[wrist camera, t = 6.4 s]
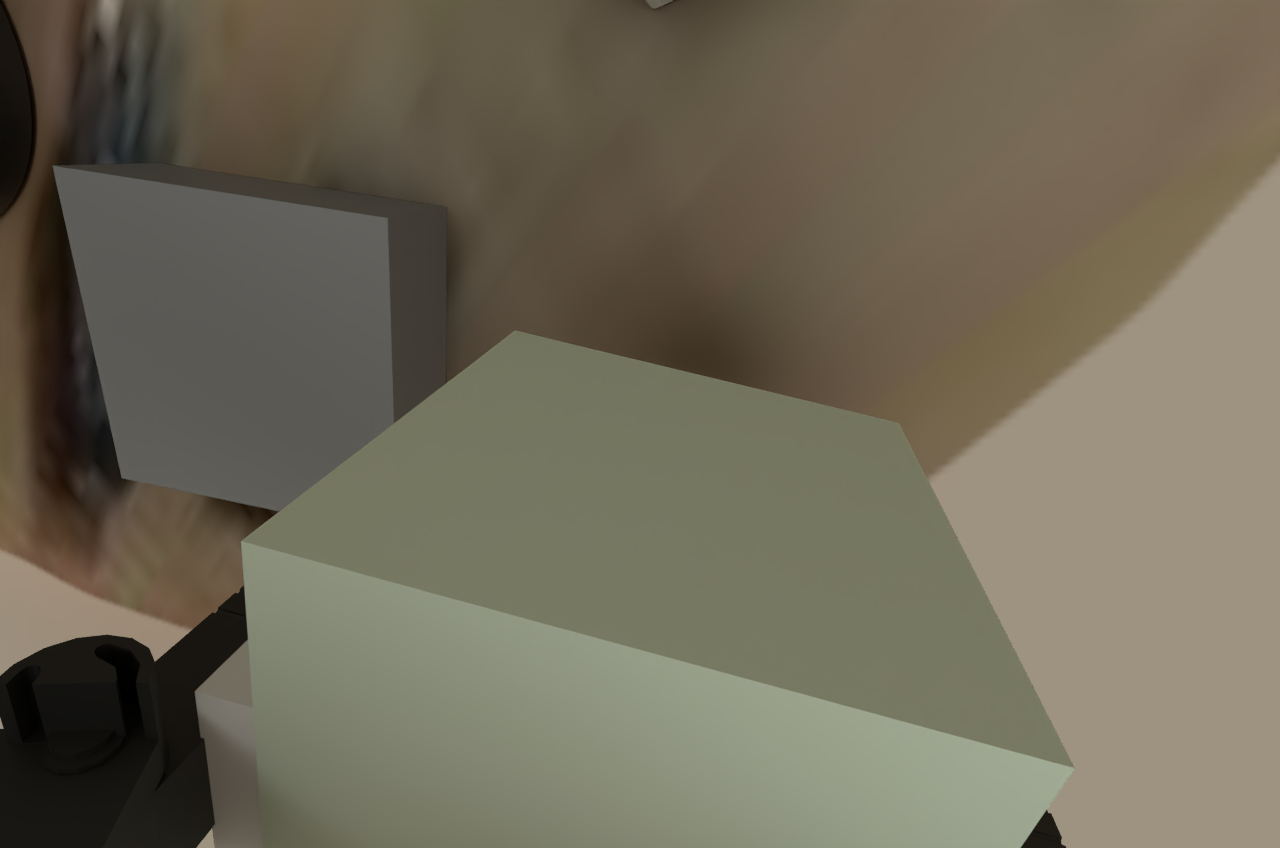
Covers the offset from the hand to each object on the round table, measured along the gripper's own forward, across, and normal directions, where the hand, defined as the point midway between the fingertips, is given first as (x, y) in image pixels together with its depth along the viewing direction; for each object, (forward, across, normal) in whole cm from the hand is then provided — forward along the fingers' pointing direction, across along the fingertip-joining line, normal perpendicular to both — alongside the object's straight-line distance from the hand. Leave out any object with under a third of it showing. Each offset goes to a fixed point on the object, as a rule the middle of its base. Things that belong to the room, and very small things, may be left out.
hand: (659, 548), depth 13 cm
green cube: (0, 0, 0) cm, 0 cm away
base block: (+16, -18, -4) cm, 24 cm away
